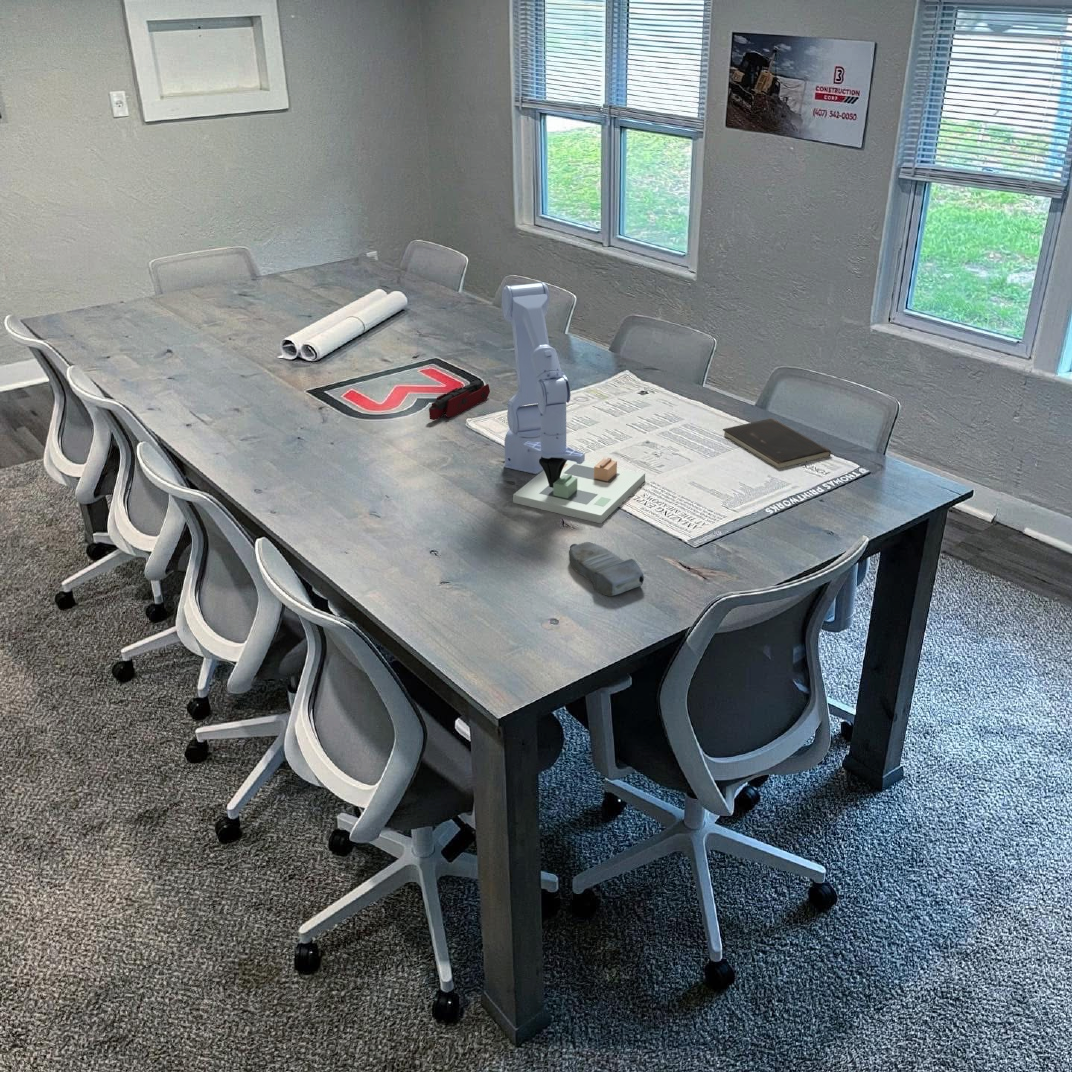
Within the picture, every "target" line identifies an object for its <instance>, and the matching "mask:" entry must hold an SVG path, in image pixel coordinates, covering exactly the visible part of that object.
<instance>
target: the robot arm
mask: <svg viewBox="0 0 1072 1072" xmlns="http://www.w3.org/2000/svg"><path fill="white" fill-rule="evenodd" d="M550 302H551V301H550V292H549V288H548V285H547V284H546V283H545V282H543V281H540V282H537V283H526V284H518V285H517V284H516V285H508V284H507V285H505V286H504V287H503V289H502V291H501V305H502V306H501V307H502V316H503V317H504V321H506V322H509V323H510V325H511V328H512V335H513V336H512V337H513V338H512V339H513V347H514V358H515V359H514V360H515V368H516V369H515V370H516V379H517V392H516V393H515V394H514V395H513V396H512V397H511V398H510V399H509V400H508V401H507V412H506V413H507V416H506V417H507V424H508V428H509V429H508V430H507V431H506V433H505V437H504V464H503V467H504V468H506V469H511V470H515V471H520V472H525V473H529V474H534V475H538V474H539V473H541V472H542V471H543V470H544V472H545V474H546V477H547V480H548V483H549V487H552V488H553V483H554V482H556V481H557V480H558V479H559V478H560V475H561V472H562V470H563V467H564V465H565V463H566V462H567V460H569V461H574V462H577V464H581V463H583V462H584V461H585V460H586V459H585V456H586V455H585V454H586V453H584V452H581V451H578V450H576V449H574V448H571V447H569V446H567V403H568V404H569V402H570V401H571V386H570V383H569V379H568V378H567V375H566V374H565V372H564V371H562V369H561V365H560V361H559V357H558V353H557V350H556V349H555V347H552V346H551V345H550V341H549V333H548V329H547V328H548V327H547V324H546V323H547V322H546V317H545V316H546V315H547V313H548V309H549V306H550Z"/></svg>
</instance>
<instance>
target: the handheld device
mask: <svg viewBox="0 0 1072 1072" xmlns="http://www.w3.org/2000/svg"><path fill="white" fill-rule="evenodd" d="M568 559H569V560H568V561H569V563H570V566H571V567H572V569H573V570H575V571H576V572H577V573H578V574H580V575H582V576H583V577H584V578H586V579H587V580H589V581H591V582H593V589H595V590H594V591H595V592H596V593H598V594H600V593H601V595H604V596H611V597H613V596H617V595H620V594H623V593H625V592H627V591H630V590H634V589H636V588H639V587H641V586H642V585H643V583H644V579H645V576H644V572H643V571H642V570H643V569H642V568H641V566H640V564H639V563H638V562H637V561H636V560H635V559H633V558H628V559H626V560H624V559H623V558H621V557H620V556H618V555H617V554H615V553H614V552H613V551H611V550H610V549H608V548H605V547H604V546H601V545H599V544H597V543H593V542H591V541H585V542H581V543H578V544H577V543H573V544H571V545H570V546H569V550H568Z"/></svg>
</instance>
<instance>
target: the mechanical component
mask: <svg viewBox="0 0 1072 1072" xmlns="http://www.w3.org/2000/svg"><path fill="white" fill-rule="evenodd" d="M490 392H491V390H490V386H489V384H488V383H487V384H485V385H483V386H482V380H478V379H477V380H474V381H471V382H469V384H467V385H465V386H462V387H456V388H454V389H452V390H450V391H448V392H447V393H446V392H445V393H443V394H440V395H438V396H437V397H436V401H434V402H432V403H431V406H429V408H428V411H429V415H428V416H429V419H430V420H433V421H436V420H437V419H439V418H440V417H444V414H445V417H446V418H451V417H455V416H457V415H459V414H461V413H463V412H464V411H467V410H469V409H471V408H472V407H474V406H476V405H478V404H480V403H483V402H484V401H486V400H488V397H489V395H490Z"/></svg>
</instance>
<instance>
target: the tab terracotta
mask: <svg viewBox="0 0 1072 1072" xmlns="http://www.w3.org/2000/svg"><path fill="white" fill-rule="evenodd" d="M597 463H598V464H597V465H595V466H594V479H599V480H603V481H609V480H610V479H611V478H612V477H613V476H614V475H615V474H616V473H617V467H618V461H616V460H612V458H611V457H607V458H602V459H601V460H600V461H599V462H597Z"/></svg>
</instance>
